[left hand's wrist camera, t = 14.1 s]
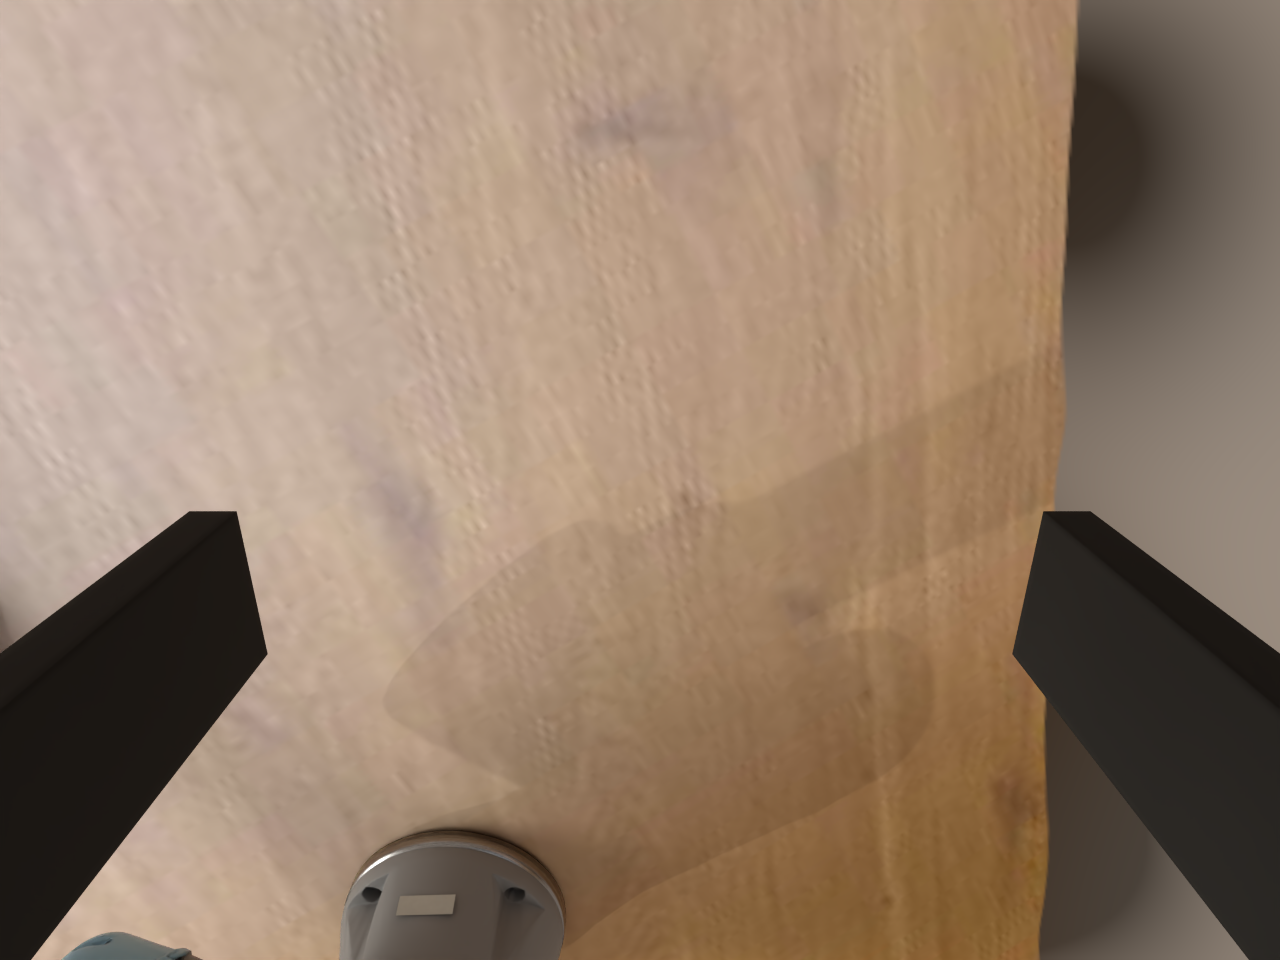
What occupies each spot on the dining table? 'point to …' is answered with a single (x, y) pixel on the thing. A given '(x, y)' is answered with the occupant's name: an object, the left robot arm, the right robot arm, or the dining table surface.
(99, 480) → the dining table surface
